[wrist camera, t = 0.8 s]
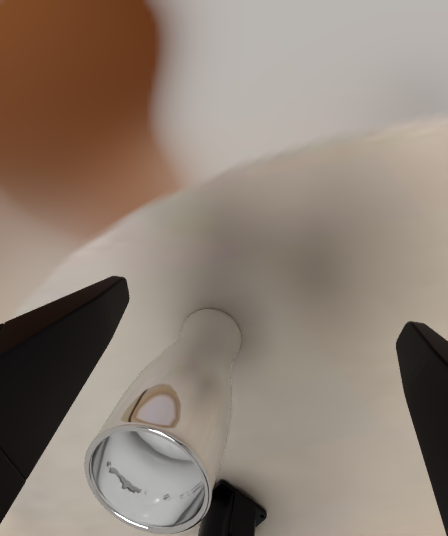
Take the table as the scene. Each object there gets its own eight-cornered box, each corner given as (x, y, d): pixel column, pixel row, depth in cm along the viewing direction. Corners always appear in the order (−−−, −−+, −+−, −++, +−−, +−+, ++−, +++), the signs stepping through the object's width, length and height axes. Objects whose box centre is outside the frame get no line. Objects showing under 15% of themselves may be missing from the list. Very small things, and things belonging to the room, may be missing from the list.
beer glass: (226, 292, 27) (169, 404, 12) (258, 354, 28) (241, 524, 13) (165, 319, 28) (54, 444, 14) (197, 376, 29) (125, 548, 15)
